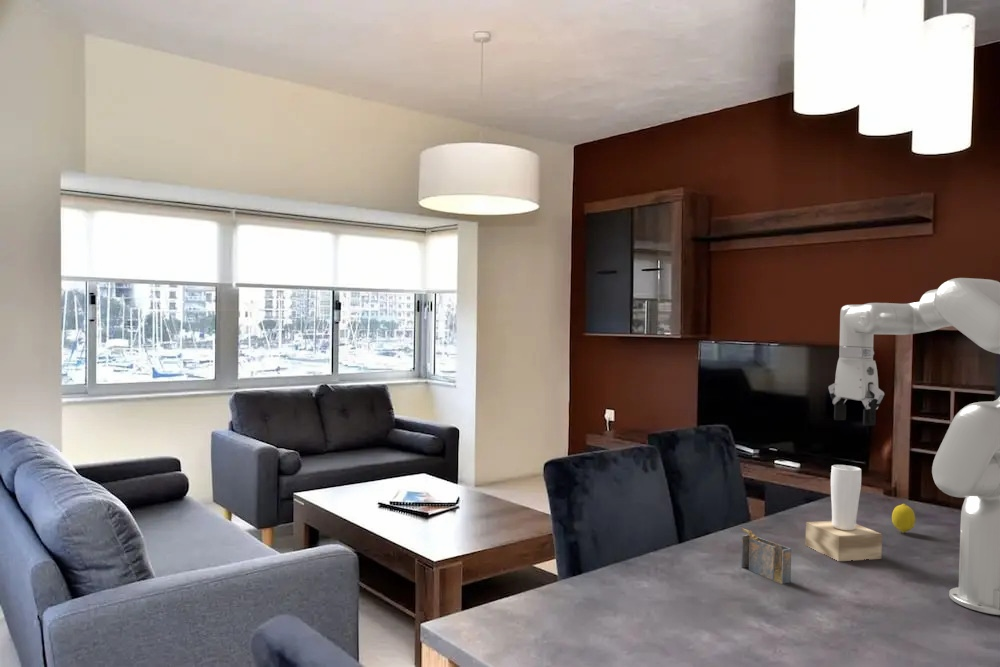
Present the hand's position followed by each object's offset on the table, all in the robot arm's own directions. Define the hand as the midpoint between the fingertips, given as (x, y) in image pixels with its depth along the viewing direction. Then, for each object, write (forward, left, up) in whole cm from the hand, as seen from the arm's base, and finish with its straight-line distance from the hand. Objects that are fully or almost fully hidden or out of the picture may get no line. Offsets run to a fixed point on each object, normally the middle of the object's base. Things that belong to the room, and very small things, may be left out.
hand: (854, 422), depth 175 cm
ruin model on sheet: (-12, +32, -33) cm, 47 cm away
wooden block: (-1, +3, -32) cm, 32 cm away
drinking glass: (-2, +4, -26) cm, 26 cm away
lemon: (+11, -26, -32) cm, 42 cm away
